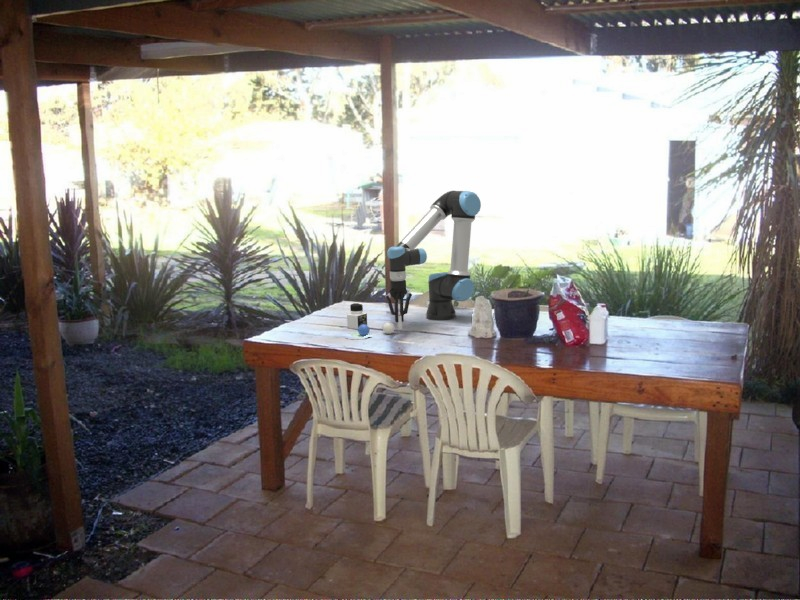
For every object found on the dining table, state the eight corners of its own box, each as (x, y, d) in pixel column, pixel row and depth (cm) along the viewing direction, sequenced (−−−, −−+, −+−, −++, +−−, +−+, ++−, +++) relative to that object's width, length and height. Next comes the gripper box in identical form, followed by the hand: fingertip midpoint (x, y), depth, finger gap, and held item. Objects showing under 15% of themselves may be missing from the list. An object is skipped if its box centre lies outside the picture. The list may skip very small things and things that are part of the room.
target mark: (370, 331, 392) (370, 331, 392) (376, 338, 378) (376, 337, 378) (341, 334, 389) (341, 334, 389) (346, 340, 375) (346, 340, 375)
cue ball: (382, 320, 387) (380, 331, 388) (386, 322, 382) (383, 334, 383) (393, 322, 389) (391, 333, 390) (397, 324, 384) (394, 336, 385)
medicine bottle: (358, 329, 397) (357, 305, 395) (347, 328, 402) (346, 304, 400) (367, 326, 403) (366, 303, 401) (356, 325, 407) (355, 301, 405)
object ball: (362, 320, 386) (354, 329, 385) (364, 323, 380) (356, 331, 380) (370, 328, 387) (362, 336, 387) (372, 330, 382) (364, 339, 382)
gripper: (386, 282, 378) (388, 331, 383) (413, 279, 381) (414, 329, 385) (382, 279, 385) (384, 328, 390) (409, 277, 388) (411, 325, 393)
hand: (399, 328), depth 388 cm, fingers closed
